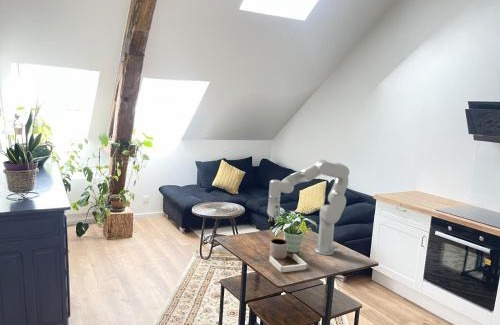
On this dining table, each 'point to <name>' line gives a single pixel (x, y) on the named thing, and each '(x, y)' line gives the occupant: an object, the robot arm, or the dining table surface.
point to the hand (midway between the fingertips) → (271, 226)
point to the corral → (301, 265)
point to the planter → (278, 248)
